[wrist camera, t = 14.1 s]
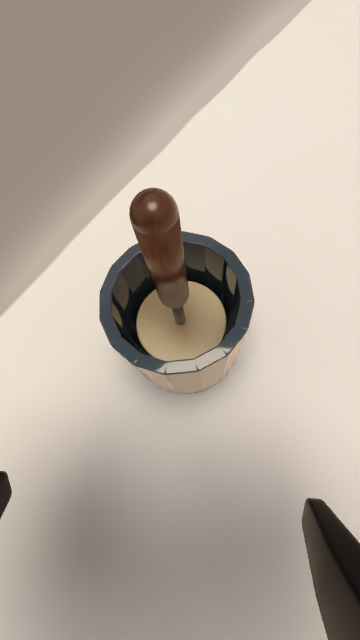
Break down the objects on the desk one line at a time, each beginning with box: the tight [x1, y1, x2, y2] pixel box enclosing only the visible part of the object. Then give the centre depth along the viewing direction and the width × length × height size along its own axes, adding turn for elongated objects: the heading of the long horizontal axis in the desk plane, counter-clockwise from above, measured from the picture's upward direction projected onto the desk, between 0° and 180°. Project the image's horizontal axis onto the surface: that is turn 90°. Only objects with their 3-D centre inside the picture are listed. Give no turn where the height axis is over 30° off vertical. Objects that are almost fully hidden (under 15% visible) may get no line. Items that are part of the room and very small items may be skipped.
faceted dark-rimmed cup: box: [99, 231, 255, 393], centre depth 17 cm, size 7×7×8 cm
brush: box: [129, 188, 226, 361], centre depth 14 cm, size 5×5×14 cm
